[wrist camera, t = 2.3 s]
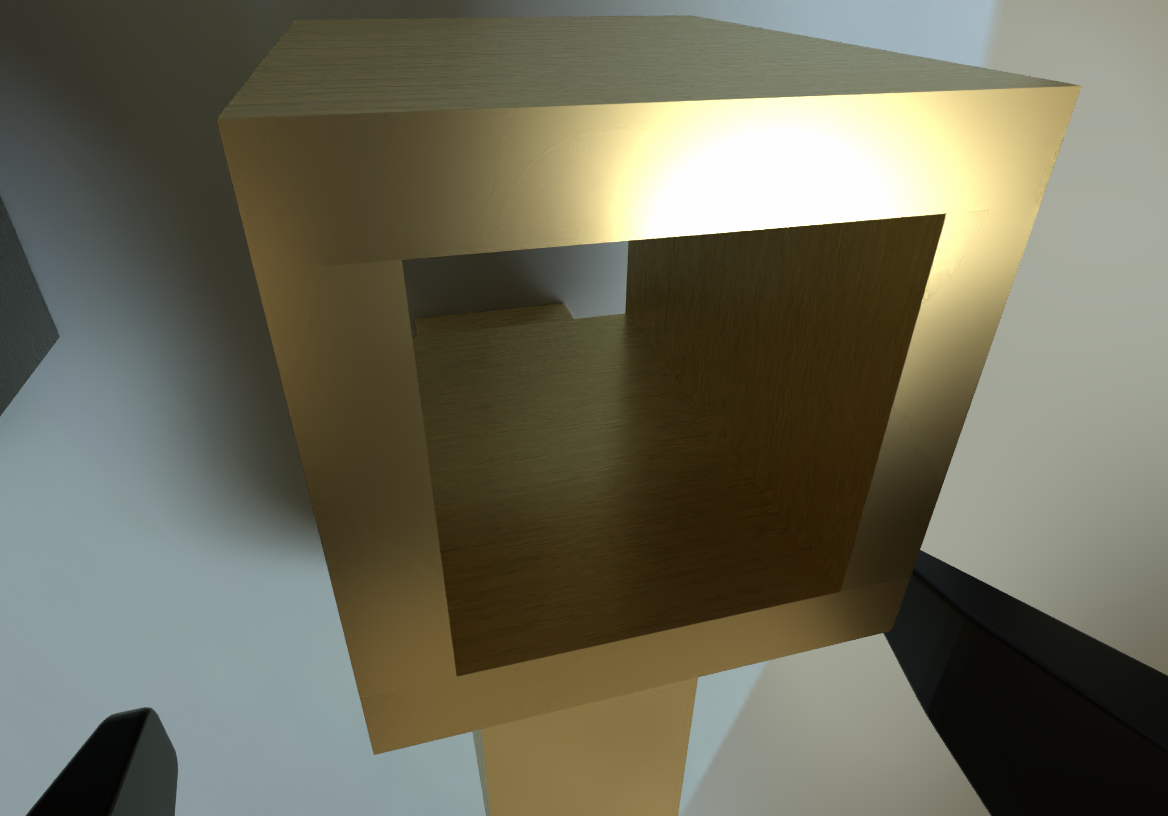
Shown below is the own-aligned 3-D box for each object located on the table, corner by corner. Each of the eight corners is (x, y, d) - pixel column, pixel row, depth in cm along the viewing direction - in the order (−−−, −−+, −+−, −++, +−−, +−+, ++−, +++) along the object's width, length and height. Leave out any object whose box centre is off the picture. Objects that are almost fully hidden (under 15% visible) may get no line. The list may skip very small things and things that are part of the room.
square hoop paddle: (602, 550, 15) (776, 959, 9) (407, 587, 14) (452, 1073, 8) (619, 2, 10) (1082, 85, 4) (307, 3, 9) (218, 120, 3)
